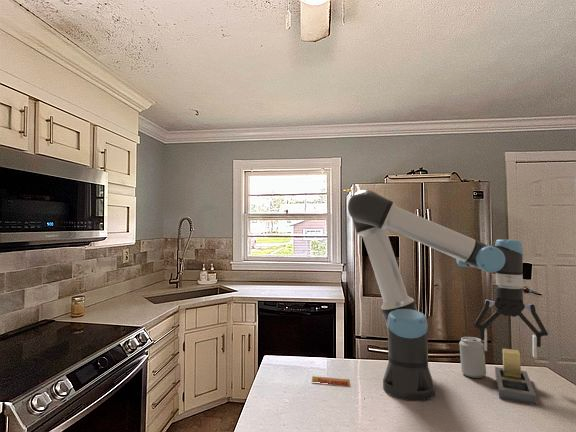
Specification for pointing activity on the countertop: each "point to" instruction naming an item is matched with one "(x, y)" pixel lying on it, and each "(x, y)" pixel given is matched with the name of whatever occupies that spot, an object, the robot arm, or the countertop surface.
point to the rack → (515, 387)
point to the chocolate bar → (332, 381)
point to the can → (472, 357)
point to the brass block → (511, 364)
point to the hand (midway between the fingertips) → (509, 353)
